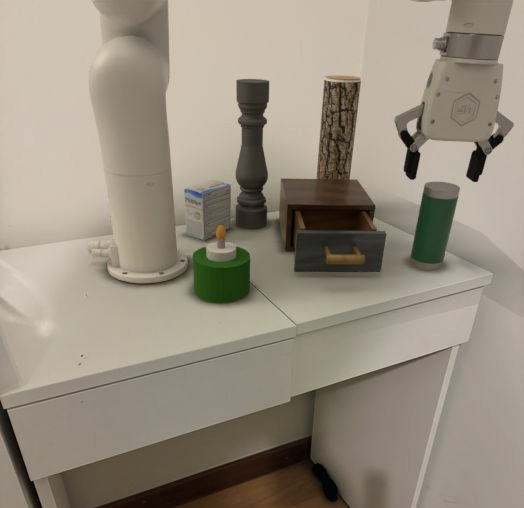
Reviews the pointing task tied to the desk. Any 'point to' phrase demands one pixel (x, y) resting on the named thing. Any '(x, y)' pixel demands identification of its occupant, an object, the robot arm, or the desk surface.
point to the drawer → (336, 241)
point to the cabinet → (319, 200)
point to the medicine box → (207, 208)
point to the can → (434, 225)
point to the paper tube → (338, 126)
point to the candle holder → (252, 153)
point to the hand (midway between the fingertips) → (440, 178)
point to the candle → (221, 271)
